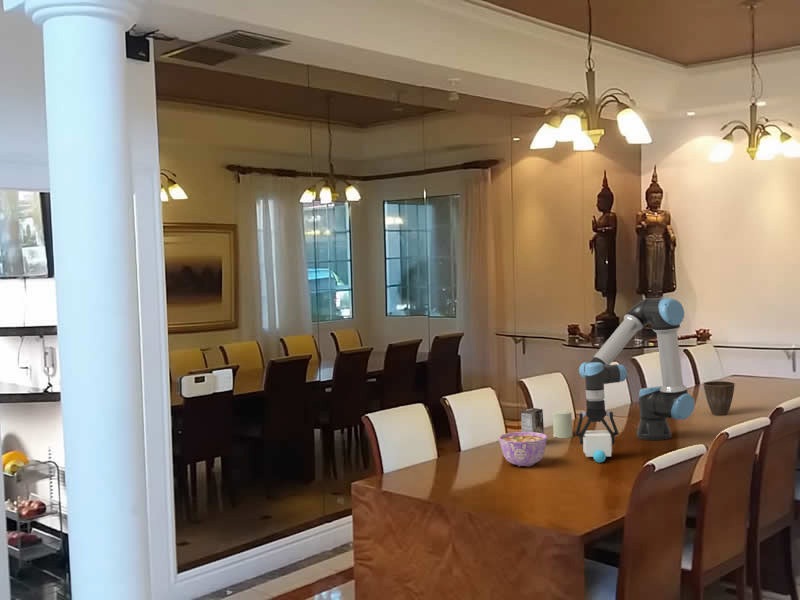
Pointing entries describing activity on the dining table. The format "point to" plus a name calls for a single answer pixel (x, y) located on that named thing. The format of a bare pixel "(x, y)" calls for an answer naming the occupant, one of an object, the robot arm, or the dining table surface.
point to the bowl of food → (523, 447)
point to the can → (562, 424)
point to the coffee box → (532, 420)
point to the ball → (599, 456)
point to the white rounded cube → (597, 442)
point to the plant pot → (719, 396)
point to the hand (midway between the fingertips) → (597, 451)
